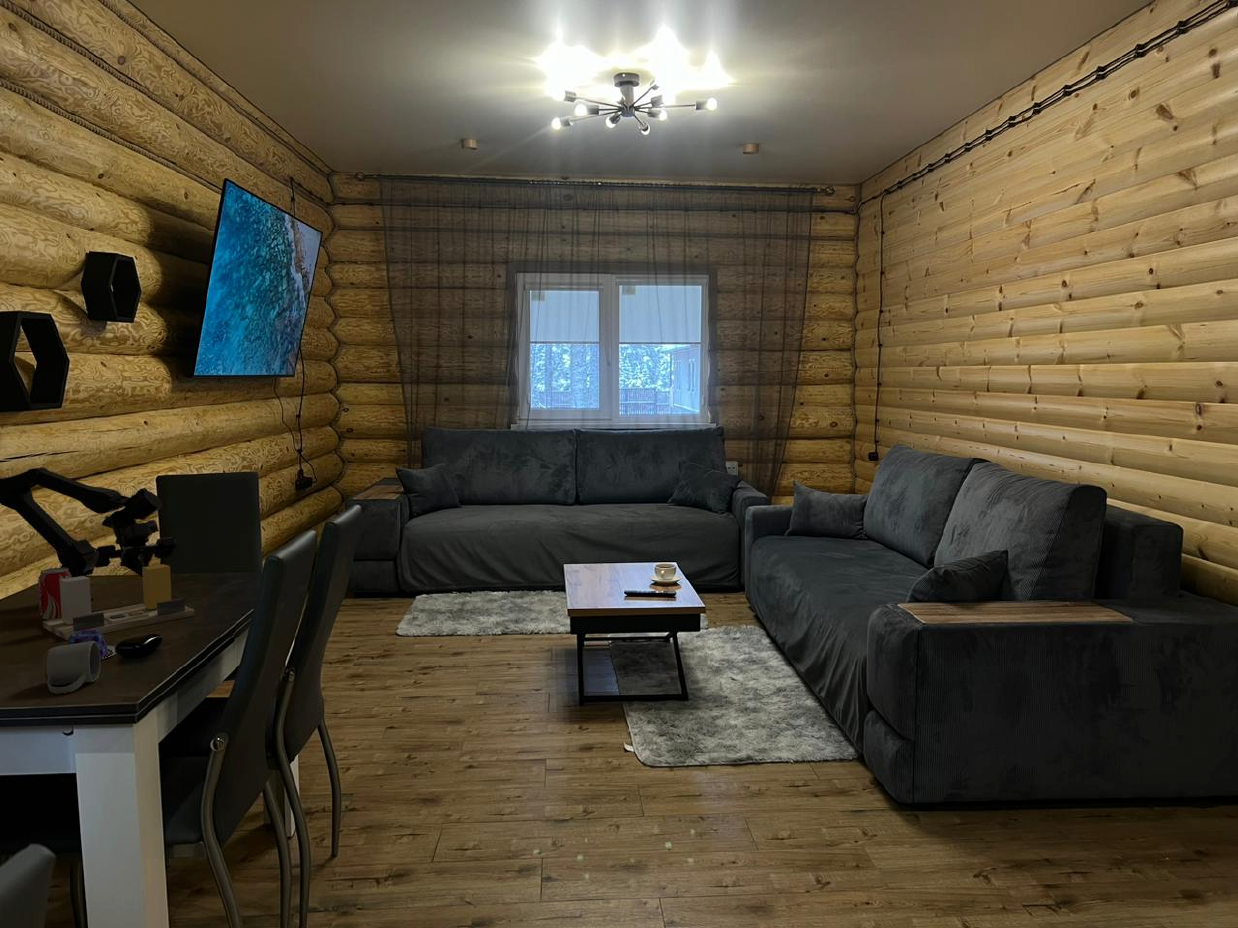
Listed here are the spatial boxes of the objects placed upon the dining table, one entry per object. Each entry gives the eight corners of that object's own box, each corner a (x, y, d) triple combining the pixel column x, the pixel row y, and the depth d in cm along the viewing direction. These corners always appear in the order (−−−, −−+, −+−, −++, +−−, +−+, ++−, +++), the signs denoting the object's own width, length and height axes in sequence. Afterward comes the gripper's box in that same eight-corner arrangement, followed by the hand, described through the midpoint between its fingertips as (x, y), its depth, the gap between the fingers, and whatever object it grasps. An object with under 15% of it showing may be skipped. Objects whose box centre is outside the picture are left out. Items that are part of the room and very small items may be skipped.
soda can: (57, 622, 208) (54, 573, 207) (32, 621, 210) (29, 572, 209) (81, 615, 215) (78, 567, 214) (57, 613, 217) (54, 566, 216)
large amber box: (144, 606, 216) (142, 567, 215) (165, 603, 220) (163, 564, 219) (150, 609, 214) (148, 569, 213) (171, 605, 217) (169, 566, 216)
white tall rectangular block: (61, 621, 203) (59, 579, 202) (85, 617, 206) (83, 575, 205) (67, 624, 200) (65, 581, 199) (91, 620, 204) (89, 578, 203)
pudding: (54, 670, 174) (53, 645, 174) (51, 655, 184) (49, 631, 183) (123, 659, 181) (121, 634, 181) (116, 645, 191) (114, 622, 190)
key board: (43, 627, 204) (41, 608, 204) (167, 604, 225) (166, 587, 225) (66, 640, 194) (65, 620, 193) (194, 615, 215) (193, 597, 214)
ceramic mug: (54, 678, 169) (51, 640, 168) (102, 673, 171) (99, 636, 170) (36, 697, 159) (34, 657, 158) (88, 693, 161) (85, 652, 160)
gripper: (94, 514, 216) (114, 564, 210) (171, 506, 230) (192, 552, 224) (84, 542, 222) (103, 591, 216) (160, 533, 236) (180, 578, 230)
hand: (146, 577), depth 221 cm, fingers closed
